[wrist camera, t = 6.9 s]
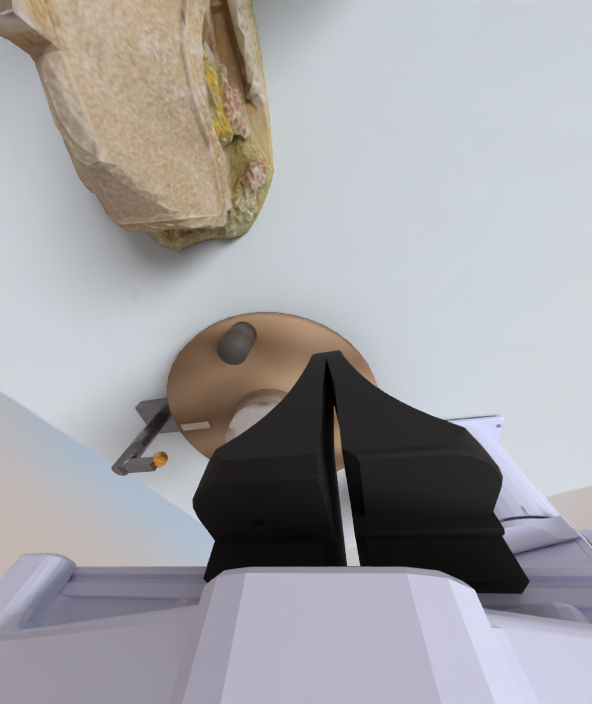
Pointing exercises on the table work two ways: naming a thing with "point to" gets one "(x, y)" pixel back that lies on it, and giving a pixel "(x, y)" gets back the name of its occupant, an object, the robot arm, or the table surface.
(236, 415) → the cover
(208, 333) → the turntable
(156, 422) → the grey bent lever
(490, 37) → the table surface
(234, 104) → the ceramic model
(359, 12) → the table surface
